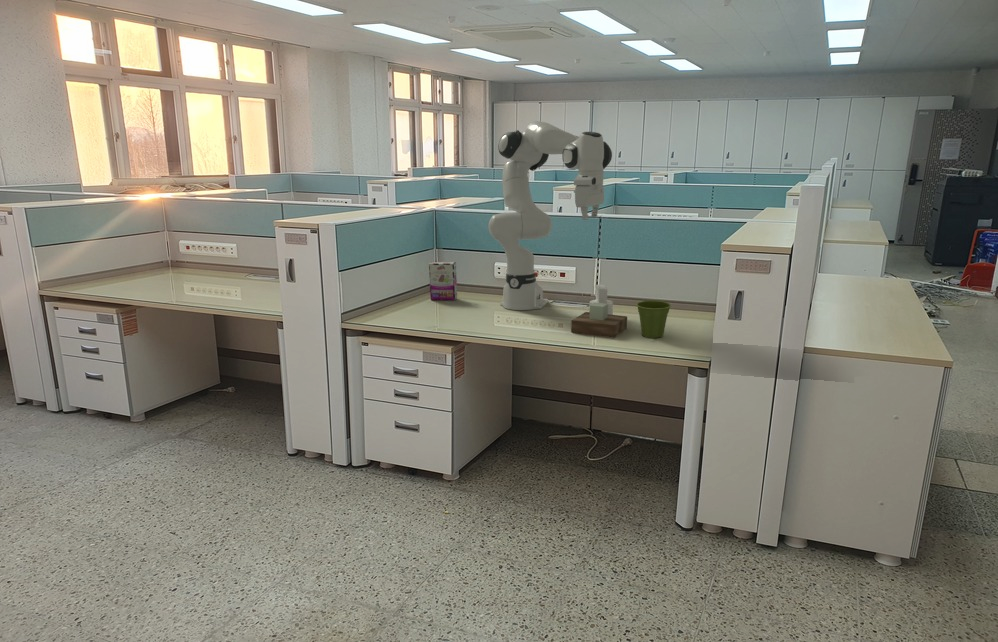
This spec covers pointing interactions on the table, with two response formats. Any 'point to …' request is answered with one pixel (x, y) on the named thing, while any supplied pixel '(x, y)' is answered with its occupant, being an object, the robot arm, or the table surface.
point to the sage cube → (598, 311)
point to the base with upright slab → (602, 298)
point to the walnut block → (599, 325)
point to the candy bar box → (443, 281)
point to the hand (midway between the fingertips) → (589, 218)
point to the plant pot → (653, 317)
